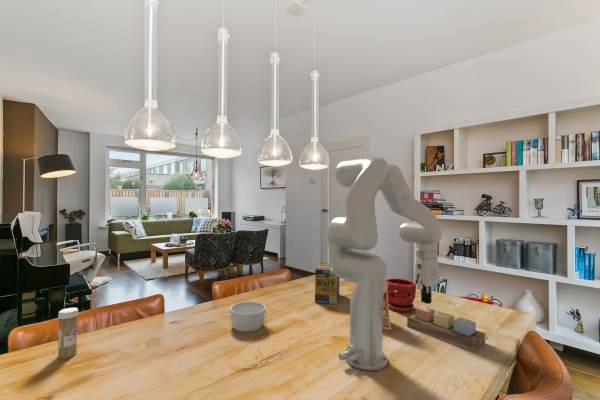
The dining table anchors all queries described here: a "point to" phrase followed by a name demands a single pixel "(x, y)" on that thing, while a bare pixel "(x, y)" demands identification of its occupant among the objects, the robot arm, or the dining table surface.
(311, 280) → the dining table surface
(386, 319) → the milk carton
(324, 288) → the protein box
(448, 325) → the tile
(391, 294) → the plant pot
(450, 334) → the wooden tile rack
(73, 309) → the sprinkles bottle
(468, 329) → the tile
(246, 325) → the ramekin
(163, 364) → the dining table surface
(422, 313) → the three-pip tile
